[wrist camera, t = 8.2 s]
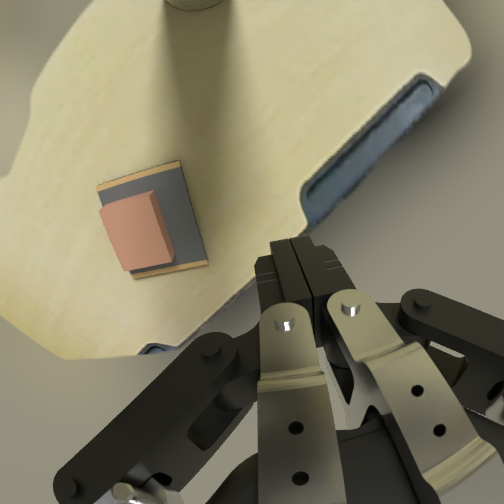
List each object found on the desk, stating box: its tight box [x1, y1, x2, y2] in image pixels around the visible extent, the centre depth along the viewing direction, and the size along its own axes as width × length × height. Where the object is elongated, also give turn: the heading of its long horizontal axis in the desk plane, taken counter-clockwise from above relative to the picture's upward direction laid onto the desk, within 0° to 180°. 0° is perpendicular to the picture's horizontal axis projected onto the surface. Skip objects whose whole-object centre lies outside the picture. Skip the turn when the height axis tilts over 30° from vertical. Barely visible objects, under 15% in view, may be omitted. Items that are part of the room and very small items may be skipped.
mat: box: [96, 160, 208, 278], centre depth 38 cm, size 16×13×1 cm
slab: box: [99, 190, 175, 271], centre depth 36 cm, size 10×3×8 cm
